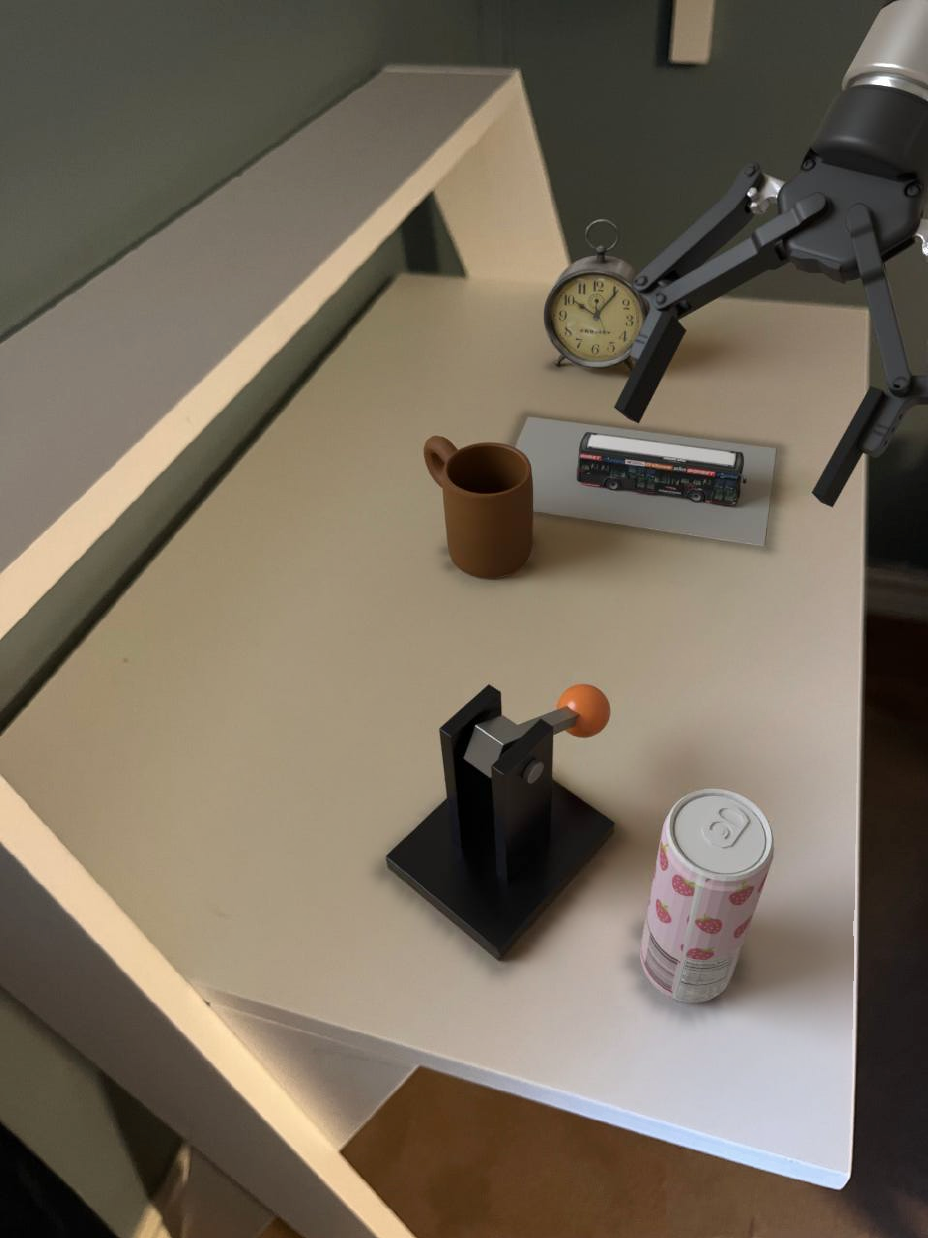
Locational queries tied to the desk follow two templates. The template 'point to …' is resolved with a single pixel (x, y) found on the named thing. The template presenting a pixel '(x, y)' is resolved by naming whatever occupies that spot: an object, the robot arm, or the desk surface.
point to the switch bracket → (499, 834)
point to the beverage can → (704, 893)
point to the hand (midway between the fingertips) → (718, 456)
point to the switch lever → (576, 714)
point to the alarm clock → (595, 310)
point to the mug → (484, 504)
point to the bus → (650, 479)
